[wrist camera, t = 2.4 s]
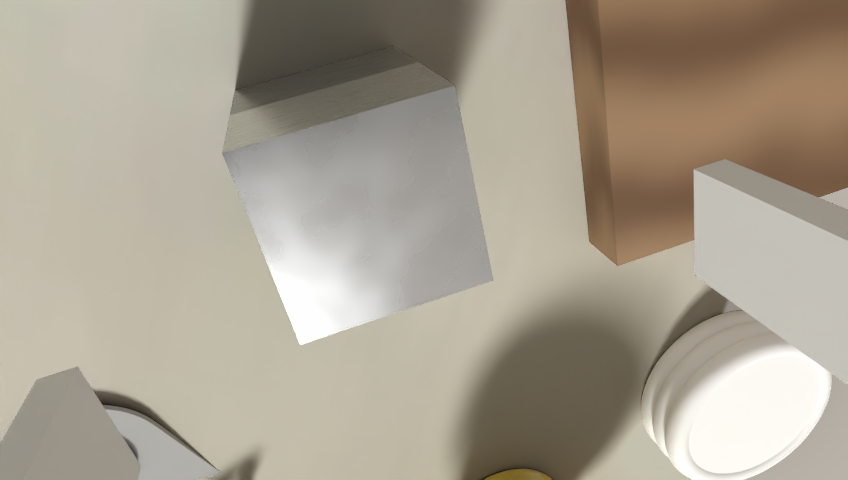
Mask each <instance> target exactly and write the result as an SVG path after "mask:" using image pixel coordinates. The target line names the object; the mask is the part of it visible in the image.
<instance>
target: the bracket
mask: <svg viewBox="0 0 848 480" xmlns="http://www.w3.org/2000/svg"><path fill="white" fill-rule="evenodd" d="M103 407H104V409H105V410H106V412H107V413H108V415H109V416H110V418H111V420H112V421H113V423H114V424H115V426H116V427H117V429H118V431H119V432H120V434H121V435H122V437H123V438H124V440H125V441H126V443H127V445H128V446H129V448H130V449H131V451H132V452H133V454H134V456H135V457H136V459H137V460H138V462H139V463H140V465H141V468H140V472H139V476H138V480H197V479H199V478H203V477H206V478H209V479H211V478H213V477H214V476H216V475H217V474H219V473H220V471H218V470H217V469H216V468H215V467H213V466H212V465H211V464H210V463H208V462H207V461H206V460H205V459H203V458H202V457H201V456H200V455H198V454H197V453H196V452H195V451H194V450H192V449H191V448H190V447H189V446H187V445H186V444H185V443H184V442H182V441H181V440H180V439H179V438H177V437H176V436H175V435H173V434H172V433H171V432H169V431H168V430H166V429H165V428H164V427H162V426H161V425H159V424H158V423H157V422H155V421H154V420H152V419H150V418H149V417H147V416H145V415H143V414H141V413H139V412H136V411H133V410H130V409H127V408H122V407H118V406H110V405H103Z"/></svg>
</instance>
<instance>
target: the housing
mask: <svg viewBox="0 0 848 480" xmlns="http://www.w3.org/2000/svg"><path fill="white" fill-rule="evenodd" d="M222 154H223V156H224V158H225V161H226V163H227V166H228V168H229V171H230V173H231V176H232V178H233V181H234V183H235V185H236V188H237V190H238V193H239V195H240V198H241V200H242V203H243V205H244V208H245V210H246V213H247V215H248V217H249V220H250V222H251V225H252V227H253V230H254V232H255V235H256V237H257V240H258V242H259V244H260V247H261V249H262V252H263V254H264V257H265V259H266V262H267V264H268V267H269V269H270V272H271V274H272V276H273V279H274V281H275V284H276V286H277V289H278V291H279V294H280V296H281V299H282V301H283V303H284V306H285V308H286V311H287V313H288V316H289V318H290V321H291V323H292V326H293V328H294V331H295V333H296V335H297V338H298V340H299V343H300V345H302V344H305V343H308V342H310V341H313V340H316V339H319V338H322V337H325V336H328V335H331V334H334V333H337V332H340V331H343V330H346V329H349V328H352V327H355V326H358V325H361V324H364V323H367V322H370V321H373V320H376V319H379V318H382V317H385V316H388V315H391V314H394V313H397V312H400V311H403V310H406V309H409V308H412V307H415V306H418V305H421V304H424V303H427V302H430V301H433V300H436V299H439V298H442V297H445V296H448V295H451V294H454V293H457V292H460V291H463V290H466V289H469V288H472V287H475V286H478V285H481V284H484V283H487V282H490V281H493V277H492V272H491V266H490V261H489V256H488V251H487V246H486V241H485V236H484V231H483V226H482V220H481V215H480V210H479V205H478V200H477V195H476V190H475V185H474V179H473V174H472V169H471V164H470V159H469V154H468V149H467V144H466V139H465V133H464V128H463V123H462V118H461V113H460V108H459V103H458V98H457V92H456V87H455V85H454V84H452V83H451V82H449V81H447V80H446V79H444V78H443V77H441V76H439V75H438V74H436V73H435V72H433V71H432V70H430V69H428V68H427V67H425V66H424V65H422V64H420V63H419V62H417V61H416V60H414V59H413V58H411V57H409V56H408V55H406V54H405V53H403V52H401V51H400V50H398V49H397V48H395V47H394V46H392V47H388V48H385V49H381V50H378V51H374V52H370V53H367V54H363V55H360V56H356V57H352V58H349V59H345V60H342V61H338V62H334V63H331V64H327V65H324V66H320V67H316V68H313V69H309V70H306V71H302V72H298V73H295V74H291V75H288V76H284V77H280V78H277V79H273V80H270V81H266V82H262V83H259V84H255V85H252V86H248V87H244V88H241V89H237V90H235V93H234V97H233V102H232V107H231V112H230V117H229V122H228V127H227V132H226V137H225V142H224V147H223V152H222Z"/></svg>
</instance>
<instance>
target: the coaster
mask: <svg viewBox="0 0 848 480" xmlns="http://www.w3.org/2000/svg"><path fill="white" fill-rule="evenodd" d="M831 375H832V373H830V372H829V371H827V370H826V369H825V368H823V367H822V366H820V365H819V364H818V363H816V362H815V361H813V360H812V359H811V358H809V357H808V356H806V355H805V354H804V353H802V352H801V351H799V350H798V349H797V348H795V347H794V346H792V345H791V344H790V343H788V342H787V341H785V340H784V339H783V338H781V337H780V336H778V335H777V334H776V333H774V332H773V331H771V330H770V329H769V328H767V327H766V326H764V325H763V324H762V323H760V322H759V321H757V320H756V319H755V318H753V317H752V316H750V315H749V314H748V313H746V312H745V311H743V310H736V311H731V312H726V313H723V314H720V315H717V316H714V317H712V318H710V319H708V320H705V321H703V322H701V323H700V324H698V325H696V326H695V327H693V328H692V329H690V330H689V331H687V332H686V333H684V334H683V335H682V336H681V337H680V338H678V339H677V340H676V341H675V342H674V343H673V344H672V345H671V346H670V347H669V348H668V349H667V350H666V351H665V353H664V354H663V355H662V356H661V358H660V359H659V360H658V362H657V363H656V365H655V366H654V368H653V370H652V372H651V374H650V376H649V378H648V380H647V382H646V385H645V388H644V391H643V395H642V401H641V415H642V419H643V423H644V426H645V428H646V430H647V432H648V434H649V436H650V437H651V438H652V439H653V441H655V442H656V443H657V444H658V445H659V447H660V449H661V450H662V452H663V453H664V454H665V455H666V456H667V457H669V458H670V460H671V462H672V464H673V465H674V466H675V468H676V469H677V470H678V471H680V472H681V473H682V474H684V475H685V476H687V477H688V478H690V479H692V480H743V479H747V478H749V477H752V476H754V475H757V474H759V473H761V472H763V471H765V470H767V469H768V468H770V467H772V466H773V465H775V464H776V463H778V462H779V461H781V460H782V459H784V458H785V457H786V456H787V455H788V454H790V453H791V452H792V451H793V450H794V449H795V448H796V447H797V446H799V445H800V444H801V443H802V441H803V440H804V439H805V438H806V437H807V436H808V435H809V433H810V432H811V431H812V429H813V428H814V427H815V425H816V424H817V422H818V421H819V419H820V417H821V415H822V413H823V412H824V410H825V407H826V404H827V402H828V399H829V395H830V392H831V383H832V376H831Z"/></svg>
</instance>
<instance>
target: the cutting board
mask: <svg viewBox="0 0 848 480" xmlns="http://www.w3.org/2000/svg"><path fill="white" fill-rule="evenodd" d="M566 9H567V19H568V29H569V39H570V50H571V60H572V70H573V80H574V90H575V100H576V110H577V121H578V131H579V141H580V151H581V161H582V171H583V181H584V191H585V202H586V212H587V222H588V232H589V242H590V243H591V244H592V245H594V246H595V247H596V248H597V249H598V250H599V251H601V252H602V253H603V254H604V255H605V256H607V257H608V258H609V259H610V260H611V261H612V262H614V263H615V264H616V265H617V266H619V265H622V264H625V263H628V262H631V261H633V260H636V259H639V258H642V257H645V256H648V255H651V254H654V253H657V252H660V251H663V250H666V249H669V248H672V247H674V246H677V245H680V244H683V243H686V242H689V241H692V240H694V169H696V168H699V167H702V166H705V165H708V164H711V163H714V162H717V161H721V160H724V159H726V160H729V161H731V162H733V163H736V164H738V165H741V166H743V167H746V168H748V169H750V170H753V171H755V172H758V173H760V174H763V175H765V176H767V177H770V178H772V179H775V180H777V181H780V182H782V183H784V184H787V185H789V186H792V187H794V188H797V189H799V190H801V191H804V192H806V193H809V194H811V195H814V196H816V197H821V196H824V195H827V194H830V193H833V192H836V191H839V190H842V189H845V188H847V187H848V0H566Z"/></svg>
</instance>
